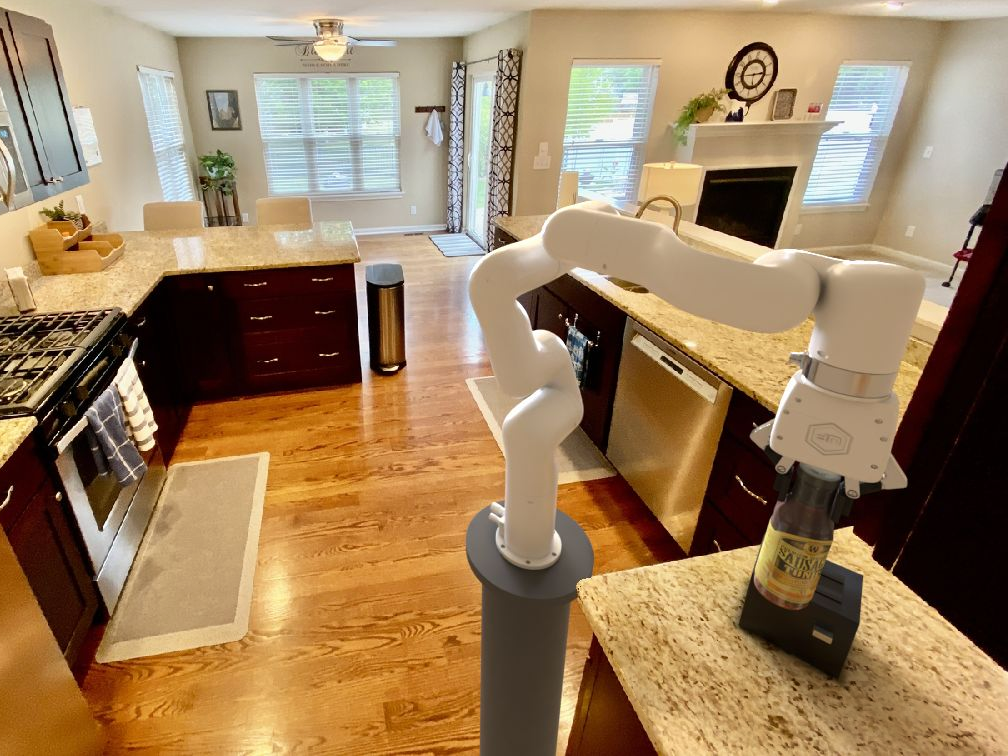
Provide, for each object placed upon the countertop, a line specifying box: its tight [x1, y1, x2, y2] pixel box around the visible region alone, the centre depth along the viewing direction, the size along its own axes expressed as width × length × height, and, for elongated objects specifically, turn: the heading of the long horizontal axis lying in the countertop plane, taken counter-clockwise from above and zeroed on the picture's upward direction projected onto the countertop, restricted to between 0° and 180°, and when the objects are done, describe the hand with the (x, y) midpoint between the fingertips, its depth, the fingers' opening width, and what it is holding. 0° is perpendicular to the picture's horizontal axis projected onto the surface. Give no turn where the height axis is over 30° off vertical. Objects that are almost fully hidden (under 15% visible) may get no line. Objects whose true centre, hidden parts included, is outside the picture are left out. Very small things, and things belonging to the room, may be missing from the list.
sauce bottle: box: [754, 462, 842, 610], centre depth 61 cm, size 6×6×20 cm
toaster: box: [737, 533, 864, 681], centre depth 73 cm, size 12×11×11 cm
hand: (808, 504), depth 60 cm, fingers closed on sauce bottle, 4 cm apart
